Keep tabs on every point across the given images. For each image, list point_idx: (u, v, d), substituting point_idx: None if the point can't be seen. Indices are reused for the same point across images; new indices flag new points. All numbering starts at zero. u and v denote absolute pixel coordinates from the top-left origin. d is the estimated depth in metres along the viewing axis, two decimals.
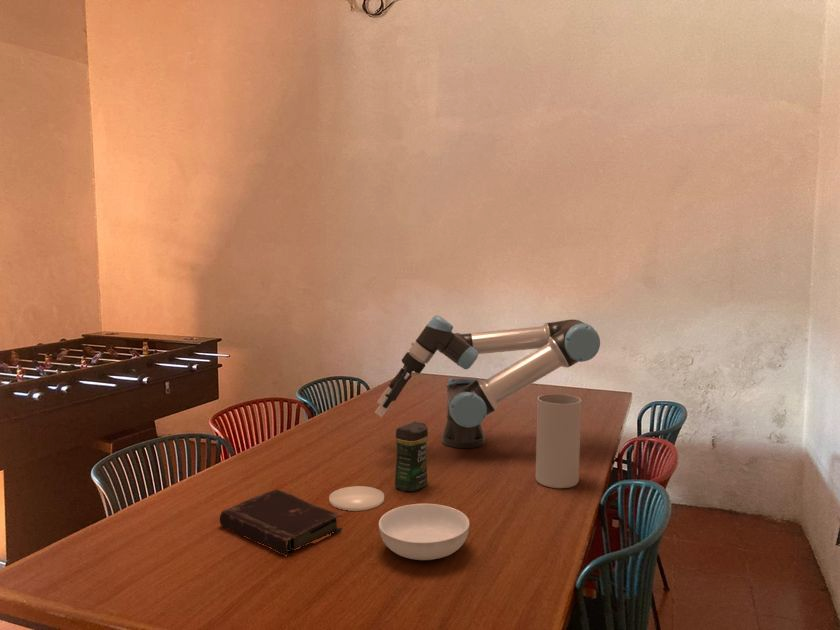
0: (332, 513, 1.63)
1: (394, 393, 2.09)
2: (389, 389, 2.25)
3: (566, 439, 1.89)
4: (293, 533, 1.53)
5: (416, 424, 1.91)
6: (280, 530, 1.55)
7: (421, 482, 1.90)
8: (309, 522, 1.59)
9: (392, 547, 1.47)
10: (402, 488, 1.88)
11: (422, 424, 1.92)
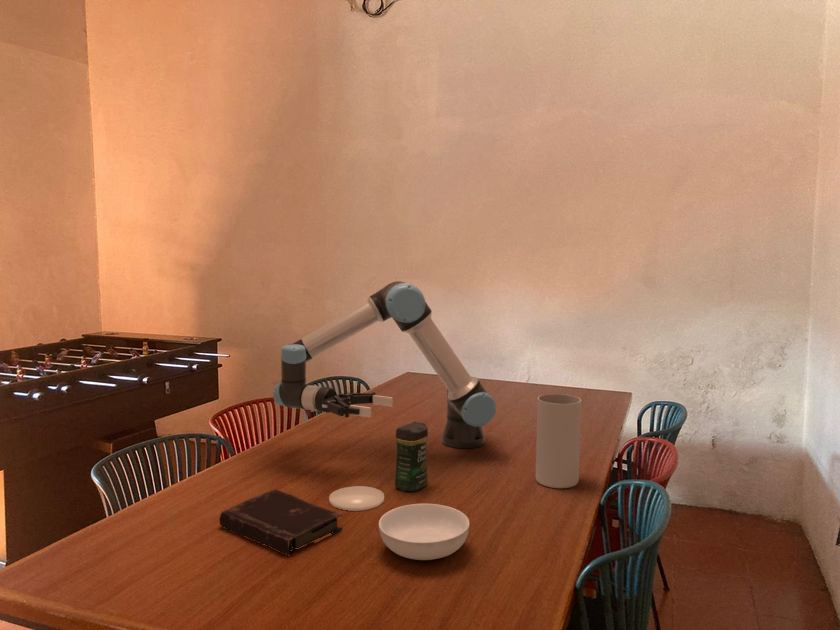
0: (332, 512, 1.64)
1: (337, 411, 1.89)
2: (374, 401, 2.02)
3: (566, 439, 1.89)
4: (294, 533, 1.53)
5: (416, 424, 1.91)
6: (281, 530, 1.55)
7: (421, 482, 1.90)
8: (310, 521, 1.59)
9: (392, 547, 1.47)
10: (402, 488, 1.88)
11: (422, 424, 1.92)
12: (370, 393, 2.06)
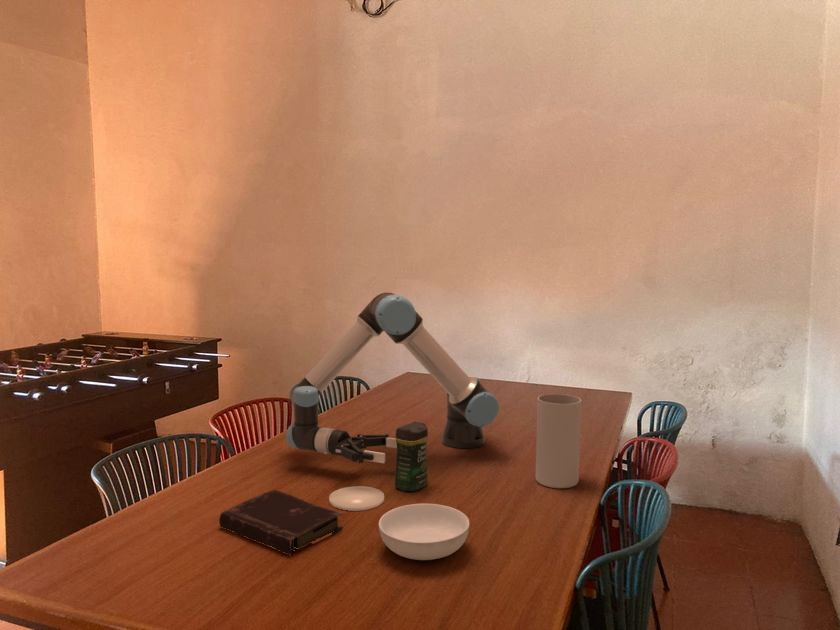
0: (333, 512, 1.64)
1: (351, 457, 1.88)
2: (387, 444, 2.01)
3: (566, 439, 1.89)
4: (296, 533, 1.53)
5: (416, 424, 1.91)
6: (283, 530, 1.55)
7: (421, 482, 1.90)
8: (311, 521, 1.59)
9: (392, 547, 1.47)
10: (402, 488, 1.88)
11: (422, 424, 1.92)
12: (383, 435, 2.05)
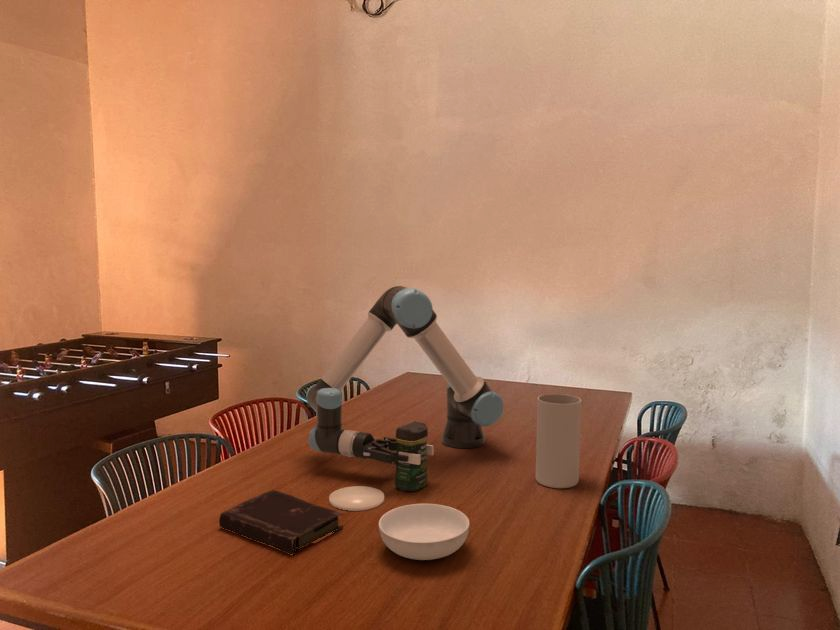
0: (333, 511, 1.65)
1: (386, 459, 1.86)
2: None
3: (566, 439, 1.89)
4: (297, 532, 1.53)
5: (416, 424, 1.91)
6: (284, 529, 1.55)
7: (421, 482, 1.90)
8: (312, 520, 1.59)
9: (392, 547, 1.47)
10: (402, 488, 1.88)
11: (422, 424, 1.92)
12: None
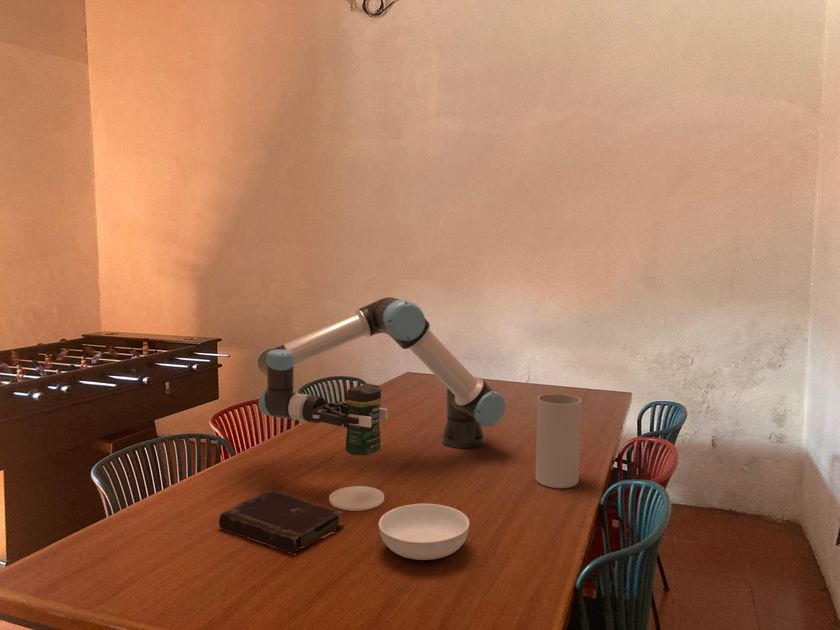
0: (334, 511, 1.65)
1: (335, 421, 1.76)
2: None
3: (566, 439, 1.89)
4: (299, 532, 1.53)
5: (368, 385, 1.81)
6: (285, 529, 1.55)
7: (373, 447, 1.80)
8: (313, 520, 1.60)
9: (392, 547, 1.47)
10: (352, 452, 1.79)
11: (375, 386, 1.82)
12: None
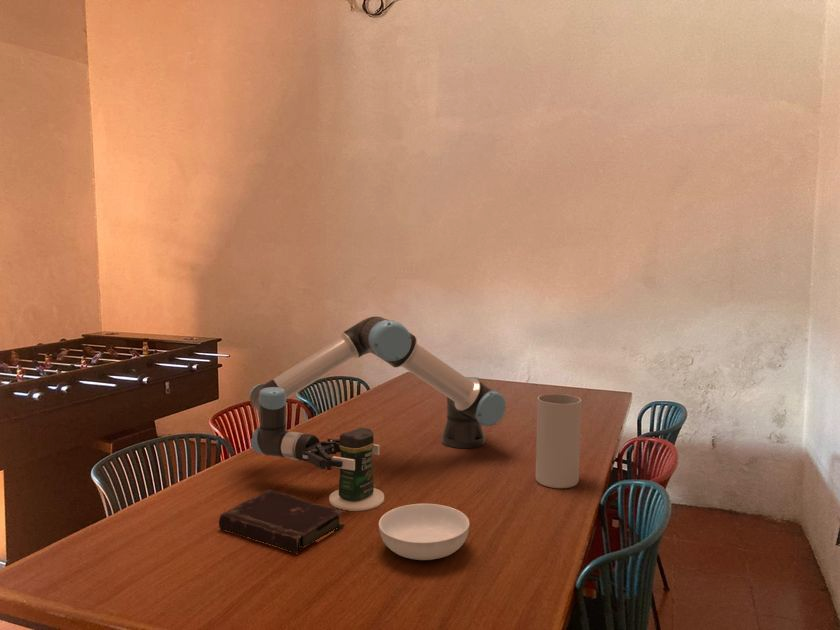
0: (334, 510, 1.65)
1: (319, 464, 1.75)
2: None
3: (566, 439, 1.89)
4: (301, 531, 1.54)
5: (361, 430, 1.81)
6: (287, 529, 1.55)
7: (366, 492, 1.80)
8: (314, 519, 1.60)
9: (392, 547, 1.47)
10: (345, 498, 1.78)
11: (368, 430, 1.82)
12: None
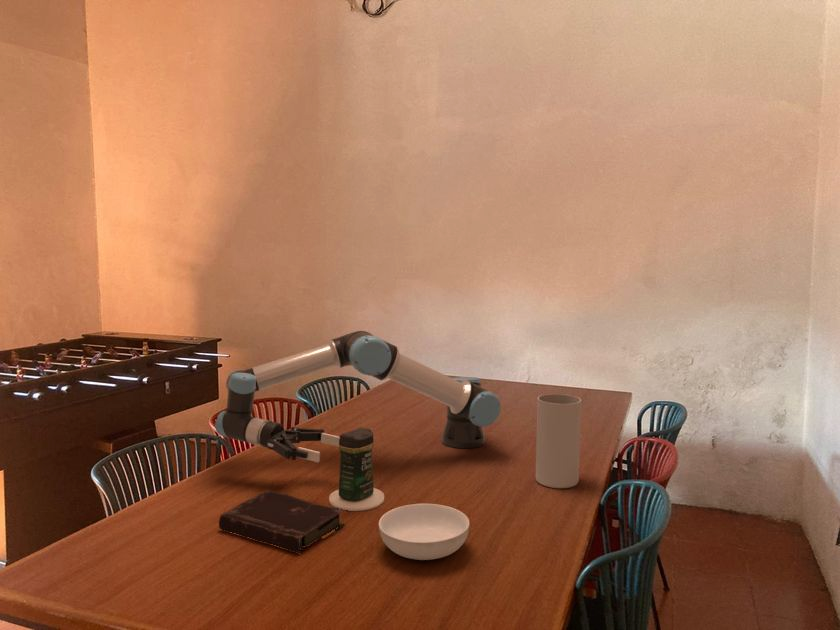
0: (334, 509, 1.66)
1: (284, 453, 1.81)
2: (322, 439, 1.95)
3: (566, 439, 1.89)
4: (303, 531, 1.54)
5: (361, 430, 1.81)
6: (289, 529, 1.55)
7: (366, 492, 1.80)
8: (315, 519, 1.60)
9: (392, 547, 1.47)
10: (345, 498, 1.78)
11: (367, 430, 1.82)
12: (318, 429, 1.98)
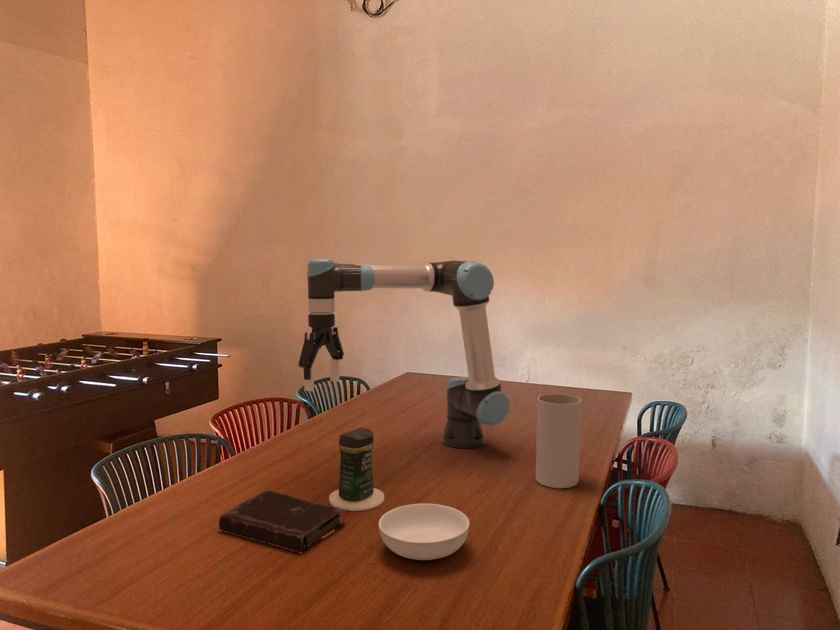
0: (335, 508, 1.66)
1: (302, 360, 1.83)
2: (332, 361, 1.98)
3: (566, 439, 1.89)
4: (305, 531, 1.54)
5: (361, 430, 1.81)
6: (290, 528, 1.56)
7: (366, 492, 1.80)
8: (316, 518, 1.61)
9: (392, 547, 1.47)
10: (345, 498, 1.78)
11: (367, 430, 1.82)
12: (342, 351, 2.00)
